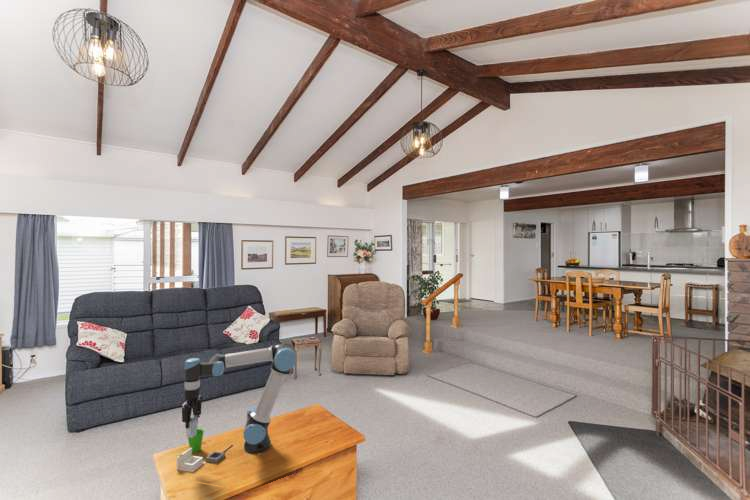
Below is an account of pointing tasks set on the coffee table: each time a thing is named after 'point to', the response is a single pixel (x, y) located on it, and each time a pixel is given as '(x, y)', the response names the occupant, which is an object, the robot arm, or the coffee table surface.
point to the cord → (227, 448)
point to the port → (189, 461)
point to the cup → (196, 441)
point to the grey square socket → (215, 457)
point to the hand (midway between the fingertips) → (191, 431)
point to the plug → (193, 426)
